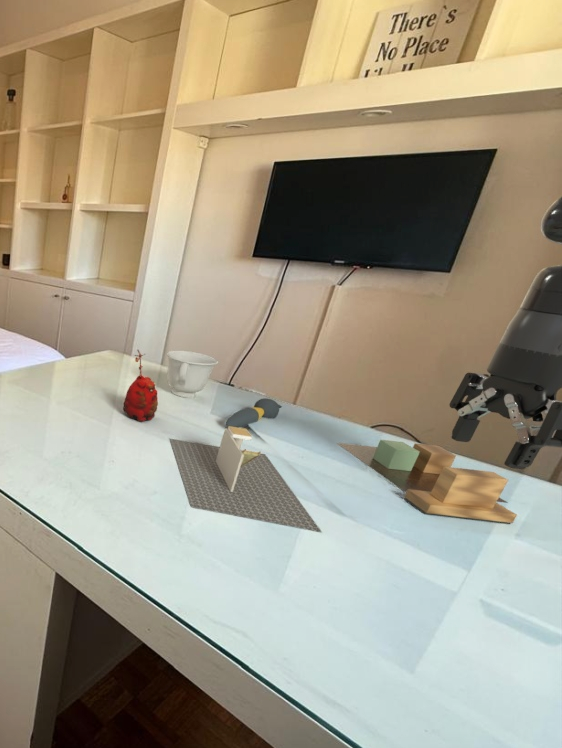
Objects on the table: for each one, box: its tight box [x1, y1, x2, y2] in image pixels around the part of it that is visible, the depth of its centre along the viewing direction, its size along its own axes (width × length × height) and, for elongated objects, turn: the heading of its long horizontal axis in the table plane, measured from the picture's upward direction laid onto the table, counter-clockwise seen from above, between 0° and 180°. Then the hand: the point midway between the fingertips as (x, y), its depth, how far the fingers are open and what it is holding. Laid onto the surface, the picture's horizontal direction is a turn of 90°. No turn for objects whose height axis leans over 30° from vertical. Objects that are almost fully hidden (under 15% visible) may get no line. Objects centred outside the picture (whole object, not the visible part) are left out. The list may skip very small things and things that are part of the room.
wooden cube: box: [412, 443, 457, 474], centre depth 83 cm, size 4×4×4 cm
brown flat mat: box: [336, 442, 509, 504], centre depth 83 cm, size 16×18×1 cm
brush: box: [404, 466, 518, 525], centre depth 69 cm, size 12×4×8 cm, turn 83°
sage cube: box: [373, 439, 420, 471], centre depth 83 cm, size 4×4×4 cm
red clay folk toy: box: [122, 349, 159, 422], centre depth 99 cm, size 8×7×15 cm
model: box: [215, 426, 262, 492], centre depth 77 cm, size 3×11×8 cm, turn 165°
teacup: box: [166, 350, 219, 399], centre depth 115 cm, size 12×15×10 cm
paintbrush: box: [225, 397, 283, 428], centre depth 101 cm, size 20×5×5 cm, turn 126°
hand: (485, 453), depth 67 cm, fingers open, 8 cm apart
